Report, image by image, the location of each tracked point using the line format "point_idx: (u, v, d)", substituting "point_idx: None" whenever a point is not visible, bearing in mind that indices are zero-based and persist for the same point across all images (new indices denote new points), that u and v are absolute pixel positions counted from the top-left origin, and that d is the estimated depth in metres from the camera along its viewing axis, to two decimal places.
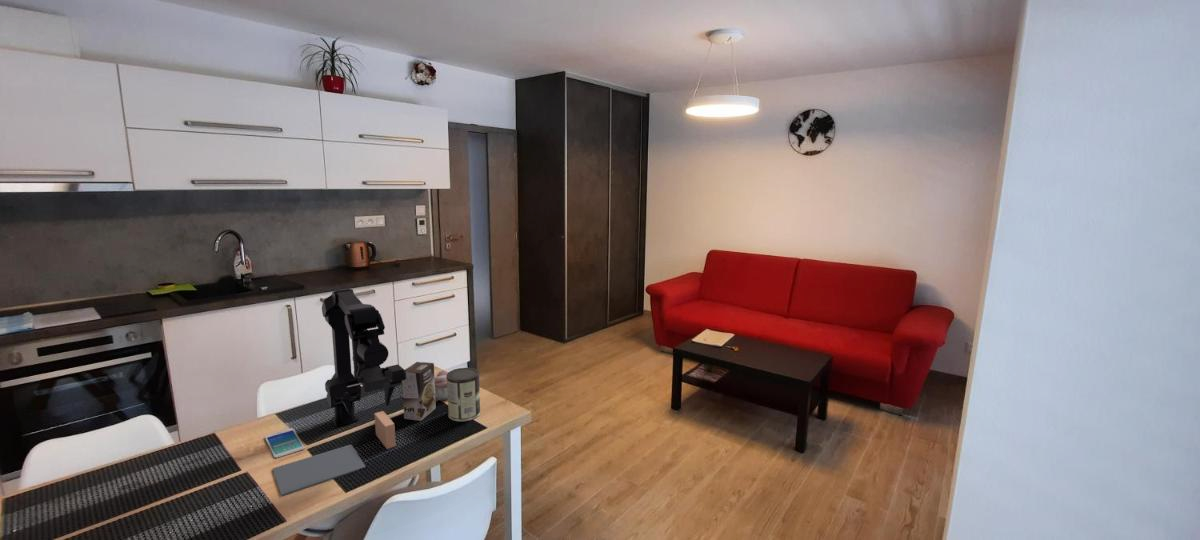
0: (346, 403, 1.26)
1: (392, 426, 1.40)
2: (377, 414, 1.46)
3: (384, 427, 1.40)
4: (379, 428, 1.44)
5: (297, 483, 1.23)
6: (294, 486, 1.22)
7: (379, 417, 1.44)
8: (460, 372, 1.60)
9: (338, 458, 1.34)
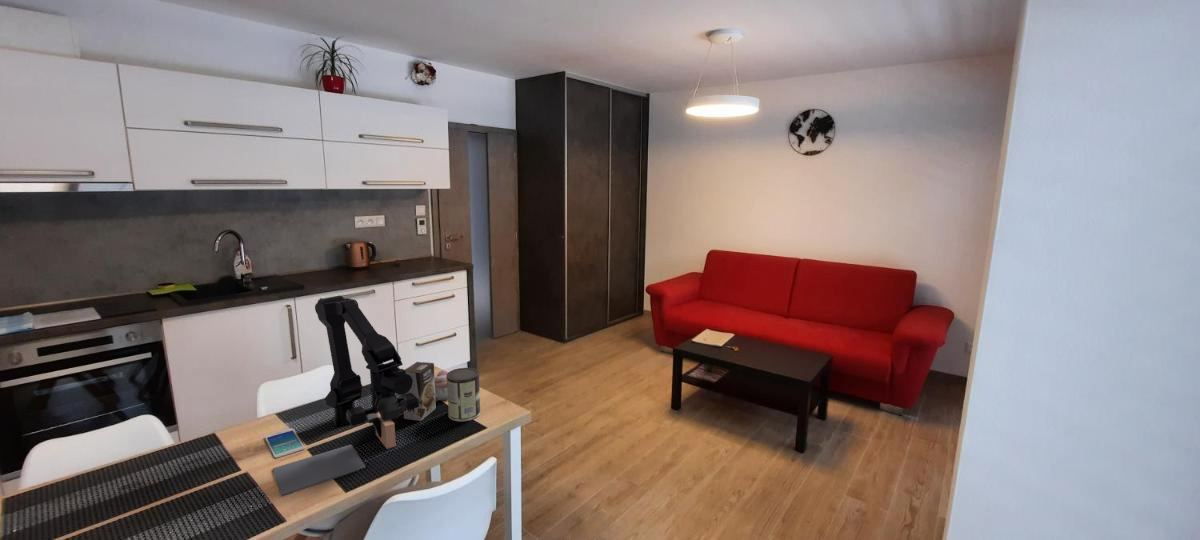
0: (377, 426, 1.41)
1: (392, 426, 1.40)
2: (377, 414, 1.46)
3: (384, 427, 1.40)
4: None
5: (297, 483, 1.23)
6: (294, 486, 1.22)
7: (379, 417, 1.44)
8: (460, 372, 1.60)
9: (338, 458, 1.34)
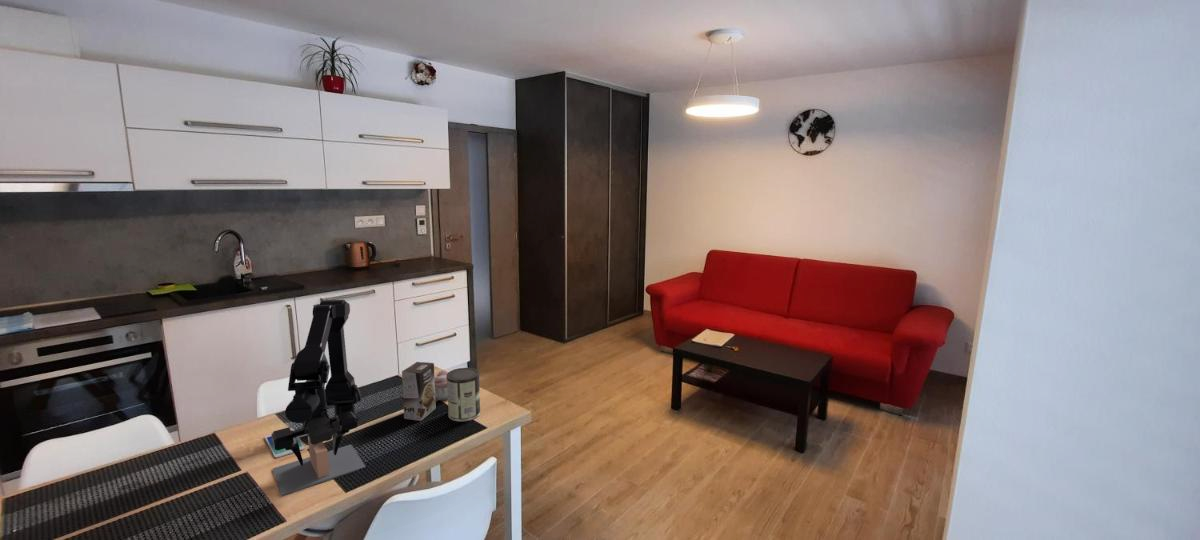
0: (296, 453, 1.25)
1: (324, 452, 1.26)
2: None
3: (315, 453, 1.25)
4: (312, 454, 1.29)
5: (297, 483, 1.23)
6: (294, 486, 1.22)
7: None
8: (460, 372, 1.60)
9: (338, 458, 1.34)
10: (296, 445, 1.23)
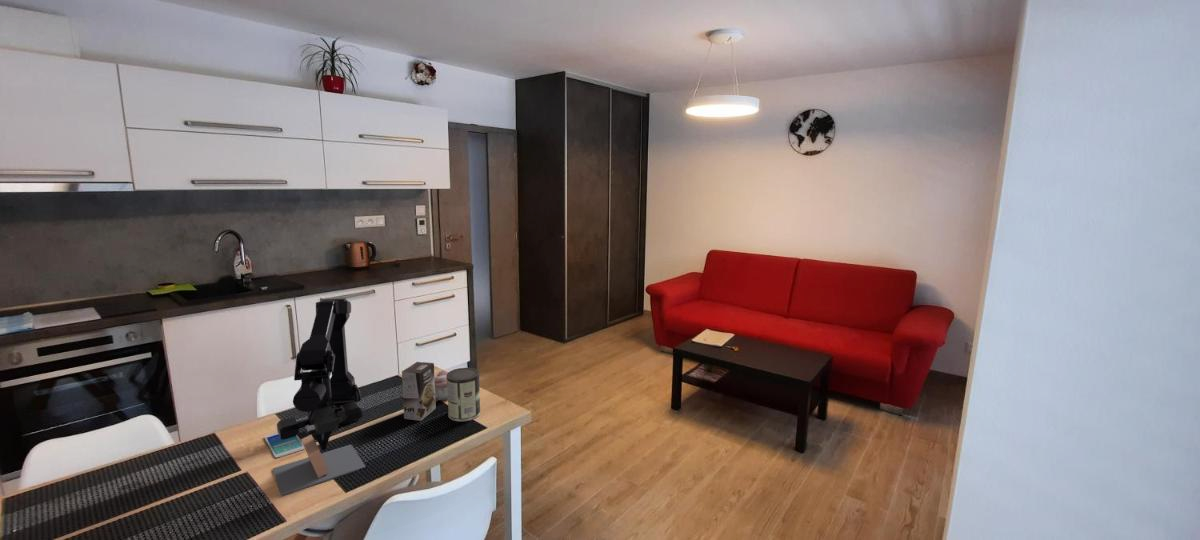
0: (318, 438, 1.27)
1: (318, 453, 1.25)
2: (304, 440, 1.30)
3: (309, 456, 1.24)
4: None
5: (297, 483, 1.23)
6: (294, 486, 1.22)
7: (305, 444, 1.28)
8: (460, 372, 1.60)
9: (338, 458, 1.34)
10: None
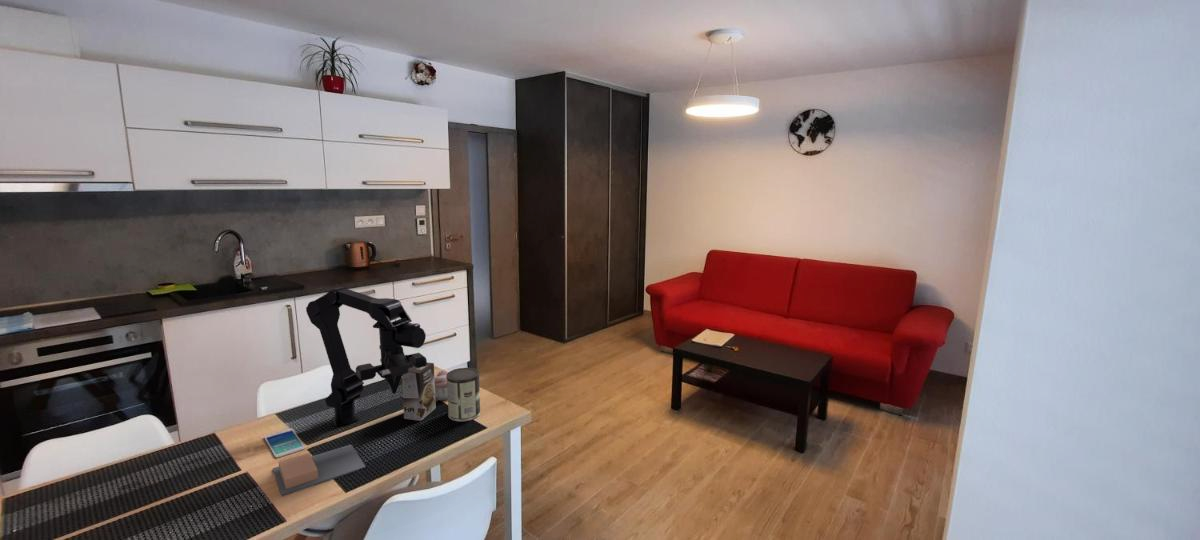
0: (390, 382, 1.44)
1: (288, 480, 1.21)
2: (280, 470, 1.27)
3: None
4: None
5: None
6: (294, 486, 1.22)
7: (281, 475, 1.26)
8: (460, 372, 1.60)
9: (338, 458, 1.34)
10: (391, 374, 1.43)
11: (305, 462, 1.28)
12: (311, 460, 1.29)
